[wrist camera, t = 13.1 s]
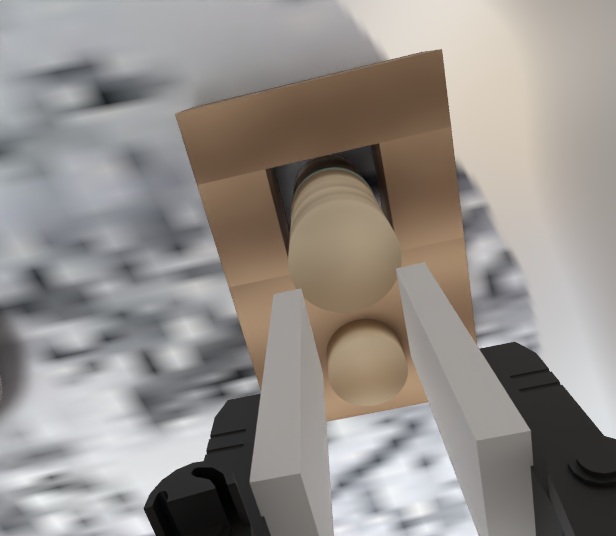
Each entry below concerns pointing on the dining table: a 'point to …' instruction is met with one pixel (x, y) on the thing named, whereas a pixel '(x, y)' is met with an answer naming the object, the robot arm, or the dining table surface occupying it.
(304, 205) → the beech dowel
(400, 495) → the dining table surface
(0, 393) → the coffee pot
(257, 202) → the wooden block with hole
